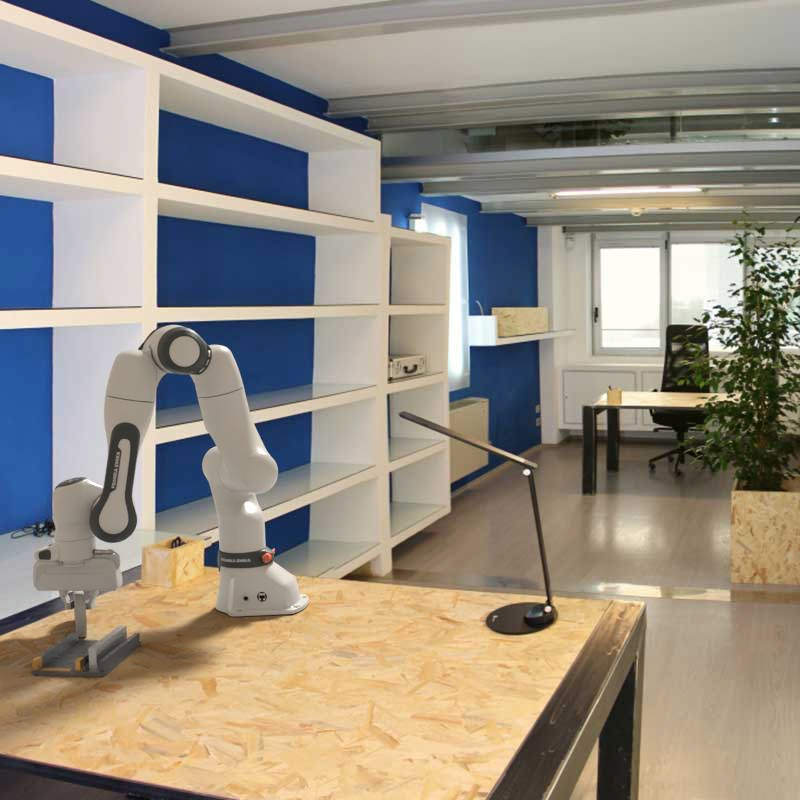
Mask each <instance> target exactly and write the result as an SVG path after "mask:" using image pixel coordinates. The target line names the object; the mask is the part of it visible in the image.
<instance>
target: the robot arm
mask: <svg viewBox="0 0 800 800" xmlns="http://www.w3.org/2000/svg"><path fill="white" fill-rule="evenodd" d="M113 361H114V362H113V363H112V365H111V366H112V367H111V370H110V373H109V376H108V379H107V385H106V390H105V396H104V404H103V405H104V406H103V422H104V423H103V424H104V430H105V436H106V443H107V460H106V467H105V475H104V481H103V485H102V484H98V482H97V483H96V482H95V481H92V480H90V479H89V478H88V477H84V476H79V477H77V476H76V477H72V478H69V479H66V480H63V481H61V482H60V483H58V484H57V485H56V486H55V487H54V489H53V491H52V501H51V502H52V504H51V505H52V509H51V510H52V521H53V523H54V528H55V532H54V537H53V538H54V542H53V543H50V544H47V545H46V546H44V547H41V548H40V549H38V550H36V551H35V552H34V559H35V563H34V565H33V567H32V568H33V569H32V570H33V571H32V581H33V587H34V588H35V590H36V591H38V592H40V591H41V592H43V591H44V592H45V591H46V592H49V591H50V592H58V595H59V597H60V598H61V600H62V602H64V610H74V607H75V605H74V599H71V598H70V596H69V593H70V592H71V591H72V592H73V591H83V592H84V591H85V592H88V596H90V597H89V600H87V601H85V606H86V611H87V610H89V611H92V610H94V609H95V607H96V605H95V601H96V599H97V597H98V595H99V592H108V591H109V592H115V591H117V590H119V589H120V588H121V587H122V585H123V582H124V581H123V574H122V569H121V556H120V554H119V552H117V551H114V549H110V548H109V549H108V548H107V549H102V548H101V549H97V544H96V543H97V542H96V541H97V540H96V538H97V539H99V540H100V541H102V542H104V543H109V544H115V543H121V542H123V541H125V540H127V539H129V538H130V537H131V536H132V535H133V534H134V532H135V530H136V528H137V524H138V515H137V511H136V504H135V501H134V499H133V492H134V491H133V489H134V482H135V476H136V468H137V463H138V457H139V453H140V451H141V448H142V445H143V443H144V440H145V437H146V435H147V433H148V430H149V427H150V425H151V422H152V418H153V415H154V410H155V403H156V396H157V388H158V387H159V383H160V381H161V380H162V378H163V377H164V376H165V375H167V374H176V375H189V377H191V379H192V382H193V383H194V386H195V391H196V396H197V401H198V404H199V408H200V412H201V413H200V414H201V417H202V421H203V425H204V428H205V430H206V431H207V433H208V434H209V436H210V437H211V438H212V440H213V442H214V444H215V446H214V447H212V448H209V450H207V452H205V455H204V457H203V459H202V462H201V466H202V468H201V469H202V473H203V475H204V476H205V479H206V480H207V482H208V484H209V487H210V491H211V495H212V499H213V503H214V508H215V511H216V517H217V528H218V545H219V546H218V547H219V548H218V549H217V568H218V572H219V579H218V580H219V583H218V591H217V597H216V601H215V606H214V607H215V610H217V611H219V612H222V613H225V614H227V616H230V617H253V616H255V617H256V616H272V615H275V616H276V615H278V616H279V615H291V614H292V615H293V614H296V613H300V611H303V610H305V608H307V606H308V605H309V603H310V598H309V596H308V595H307V594H304V593H300V588H299V584H298V581H297V580H298V579H297V577H296V576H295V575H294V574H293V573H290V571H288V570H287V569H285V568H283V567H282V566H281V565H279V564H278V563H277V562H275V553H276V552H275V551H276V549H275V548H273V549H271V548H269V547H268V546H267V545H266V526H265V525H266V524H265V514H264V512H263V510H262V508H261V506H260V504H259V502H258V499H257V495H261V494H264V493H267V492H269V491H270V490H271V489H272V488H273V487H274V486H275V484H276V482H277V480H278V477H279V468H278V464H277V462H276V460H275V459H274V458H273V457H272V456H271V454H270V453H269V452H268V450H267V449H266V446H265V444H264V442H263V440H262V439H261V435H260V434H259V432H258V430H257V428H256V425H255V423H254V421H253V417H252V414H251V412H250V411H251V410H250V407H249V404H248V399H247V395H246V392H245V391H246V390H245V386H244V382H243V379H242V376H241V372H240V369H239V367H238V364H237V361H236V359H235V357H234V355H233V353H232V351H231V350H230V348H228V346H225V345H221V344H208V343H206V341H205V340H204V339H203V338H202V337H201V336H200V334H198V333H197V332H196V331H195V330H193V329H191V328H188V327H185V326H183V325H178V324H170V325H162V326H159V327H157V328H155V329H153V330H152V331H151V332H150V333H149V334H148V335H147V336H146V338H145V339H144V341H143V342H142V344H140V346H139V347H138V349H127V350H124V351H123V350H122V351H121V352H120V353H118V354H117V355H116V357H115V358H114V360H113Z"/></svg>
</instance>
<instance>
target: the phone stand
mask: <svg viewBox="0 0 800 800" xmlns="http://www.w3.org/2000/svg"><path fill="white" fill-rule="evenodd" d="M127 628H128V626H127V625H118V626H117V627H115V628H114V629H113V630H111V631H110V632H108V633H107V634H106V635H105V636H104V637H102V638H101V639H98V640H97V639H96V640H95V639H94V640H93V639H85V640H84V639H79V638H78V632H76V631H72V632H71V633H69V634H68V635H66V636H65V637H63V638H61V640H59V641H58V642H57V643H55V644H53V645H52V646H50V647H49V648H48V649H46V650H45V651H43V652H41V653H40V654H39V655H37V656H36V657H34V658H33V659H32V670H31V676H32V675H44V676H43V677H76V676H82V677H83V678H85V677H86V678H104V677H106V676H107V675H108V674H109V673H110V672H112V671H113V670H114V669H115V668H116V667H118V666H119V665H120V664H121V663H122V662H124V661H125V660H126V659H127V658H128V657H130V656H131V655H132V654H133V653H134V652H135V651H136V649H137V648H138V649H139V648H140V647H141V646H142V641H141V637H140V636H141V634H140V632H134V633H132V635H131V636H128V631H127ZM138 649H137V650H138ZM132 652H133V653H132ZM131 653H132V654H131ZM130 654H131V655H130ZM125 658H126V659H125ZM124 659H125V660H124ZM119 663H120V664H119ZM118 664H119V665H118ZM49 675H50V676H49ZM57 675H58V676H57ZM82 677H81V678H82Z"/></svg>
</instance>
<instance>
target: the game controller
mask: <svg viewBox="0 0 800 800" xmlns="http://www.w3.org/2000/svg"><path fill="white" fill-rule="evenodd" d="M72 592H73V593H72V594H73V600H74V605H75V607H74V609H73V611H74V623H75V632H78V639H79V637H80V638H85V637H87V636H88V635H87V634H88V632H87V631H88V629H87V628H88V627H87V610H86V606H85V602H86V599H85V594H84V591H72Z"/></svg>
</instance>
